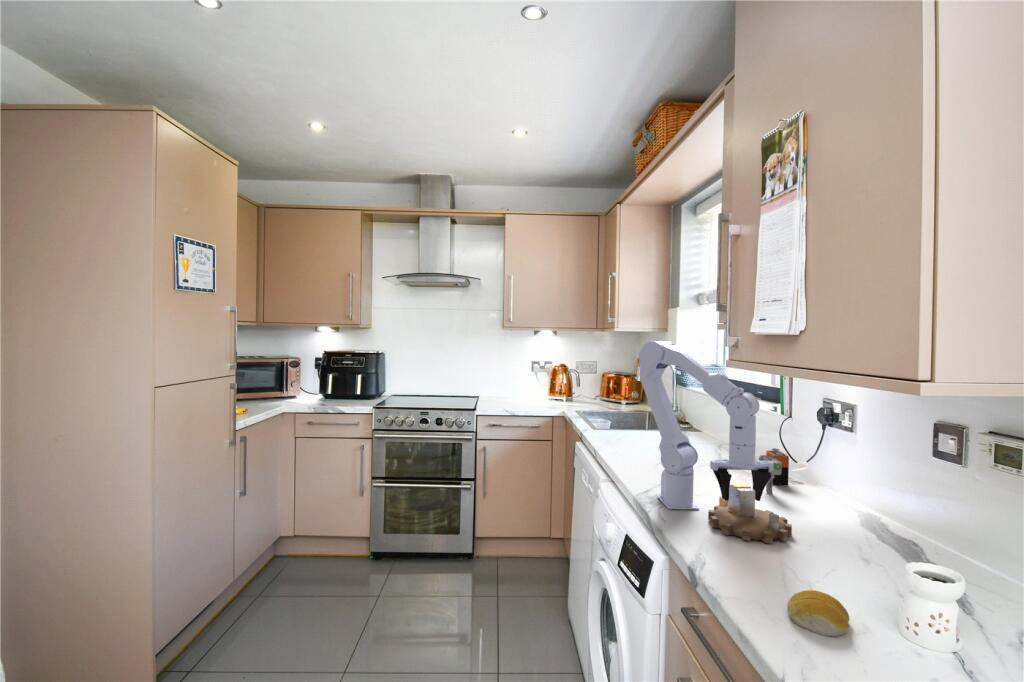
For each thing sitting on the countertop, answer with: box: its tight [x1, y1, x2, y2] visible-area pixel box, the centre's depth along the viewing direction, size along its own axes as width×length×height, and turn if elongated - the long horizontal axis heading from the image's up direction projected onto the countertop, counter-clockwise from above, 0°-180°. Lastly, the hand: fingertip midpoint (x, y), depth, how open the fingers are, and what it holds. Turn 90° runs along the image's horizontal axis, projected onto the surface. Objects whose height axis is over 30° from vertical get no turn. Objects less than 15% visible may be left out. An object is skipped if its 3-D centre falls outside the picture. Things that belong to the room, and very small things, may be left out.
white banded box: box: [728, 482, 756, 516], centre depth 115 cm, size 6×4×6 cm, turn 1°
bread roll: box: [787, 589, 850, 638], centre depth 76 cm, size 8×9×4 cm
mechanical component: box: [758, 454, 782, 494], centre depth 136 cm, size 3×10×10 cm, turn 174°
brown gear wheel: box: [707, 505, 793, 544], centre depth 111 cm, size 17×17×5 cm
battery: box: [765, 447, 790, 487], centre depth 147 cm, size 4×7×10 cm, turn 170°
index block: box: [718, 495, 728, 507], centre depth 123 cm, size 3×2×3 cm, turn 1°
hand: (740, 499), depth 115 cm, fingers open, 7 cm apart
